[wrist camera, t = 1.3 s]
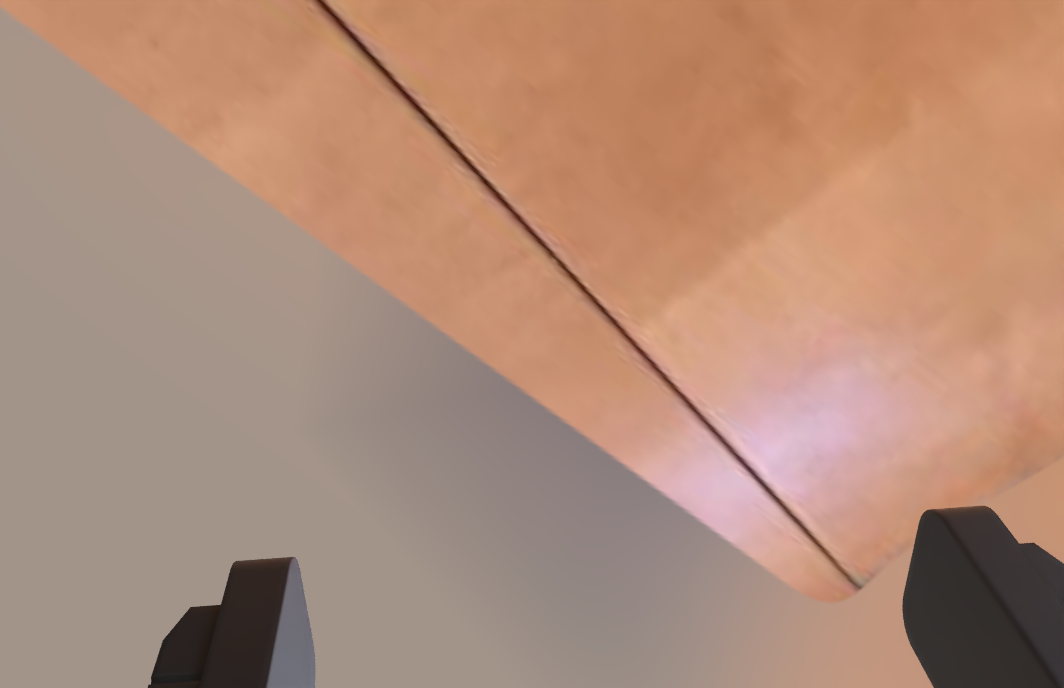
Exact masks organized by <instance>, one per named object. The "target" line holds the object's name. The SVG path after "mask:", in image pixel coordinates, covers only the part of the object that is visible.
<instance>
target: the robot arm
mask: <svg viewBox="0 0 1064 688" xmlns="http://www.w3.org/2000/svg"><path fill="white" fill-rule="evenodd" d="M903 619H904V625H905V629H906V633H907V636H908V639H909V641H910V644H911V646H912V648H913V650H914V652H915V654H916V656H917V657H918V659H919V661H920V663H921V665H922V667H923V668H924V670H925V672H926V674H927V676H928V678H929V679H930V681H931V683H932V685H933V687H934V688H1064V564H1063V563H1062V562H1060V561H1059V560H1058V559H1056V558H1055V557H1053V556H1052V555H1050V554H1049V553H1048V552H1046V551H1045V550H1043V549H1042V548H1040V547H1039V546H1038V545H1036V544H1035V543H1024V544H1019V543H1018V542H1017V540H1016V539H1015V538H1014V536H1013V535H1012V534H1011V532H1010V531H1009V530H1008V528H1007V527H1006V526H1005V525H1004V523H1003V522H1002V521H1001V519H1000V518H999V517H998V515H997V514H996V513H995V512H994V511H993V510H992V509H991V508H989V507H987V506H974V507H960V508H946V509H932V510H927V511H925V512H924V513H923V515H922V516H921V519H920V522H919V526H918V530H917V535H916V539H915V544H914V549H913V553H912V558H911V563H910V568H909V572H908V577H907V581H906V586H905V591H904V596H903ZM148 688H315V654H314V646H313V640H312V633H311V628H310V623H309V617H308V611H307V606H306V601H305V596H304V590H303V584H302V579H301V573H300V568H299V564H298V561H297V559H296V558H295V557H287V558H273V559H259V560H245V561H236V562H234V563H233V565H232V567H231V570H230V573H229V577H228V581H227V585H226V588H225V592H224V596H223V600H222V604H221V605H214V606H200V607H190V609H189V610H188V611H187V612H186V613H185V615H184V616H183V617H182V618H181V619H180V621H179V622H178V623H177V624H176V625H175V627H174V628H173V629H172V630H171V631H170V633H169V634H168V635H167V636H166V637H165V639H164V640H163V643H162V645H161V648H160V651H159V655H158V657H157V661H156V664H155V667H154V670H153V673H152V676H151V685H148Z"/></svg>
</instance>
